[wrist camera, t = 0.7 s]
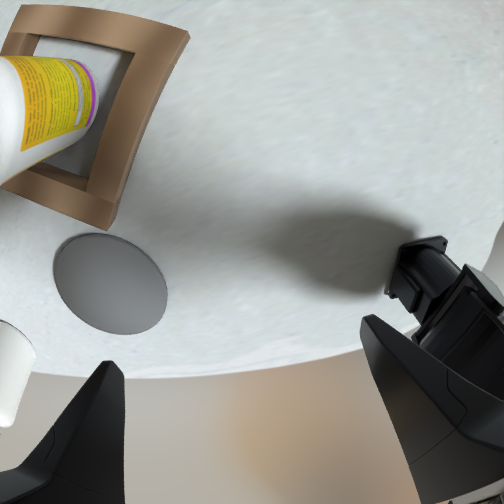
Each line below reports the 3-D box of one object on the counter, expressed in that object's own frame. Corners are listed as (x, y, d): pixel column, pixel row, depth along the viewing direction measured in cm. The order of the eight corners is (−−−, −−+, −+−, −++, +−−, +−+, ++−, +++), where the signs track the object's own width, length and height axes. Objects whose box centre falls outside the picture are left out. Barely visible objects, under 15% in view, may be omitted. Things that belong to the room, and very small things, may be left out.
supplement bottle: (73, 42, 12) (-66, 29, 1) (120, 102, 15) (-19, 138, 4) (17, 108, 13) (-111, 161, 2) (59, 166, 16) (-60, 262, 5)
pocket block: (190, 37, 13) (187, 31, 12) (115, 218, 19) (106, 231, 17) (35, 8, 9) (21, 4, 7) (-11, 168, 14) (-25, 175, 13)
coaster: (146, 222, 20) (145, 226, 19) (181, 325, 26) (180, 330, 25) (39, 245, 19) (36, 248, 19) (86, 332, 25) (85, 336, 25)
